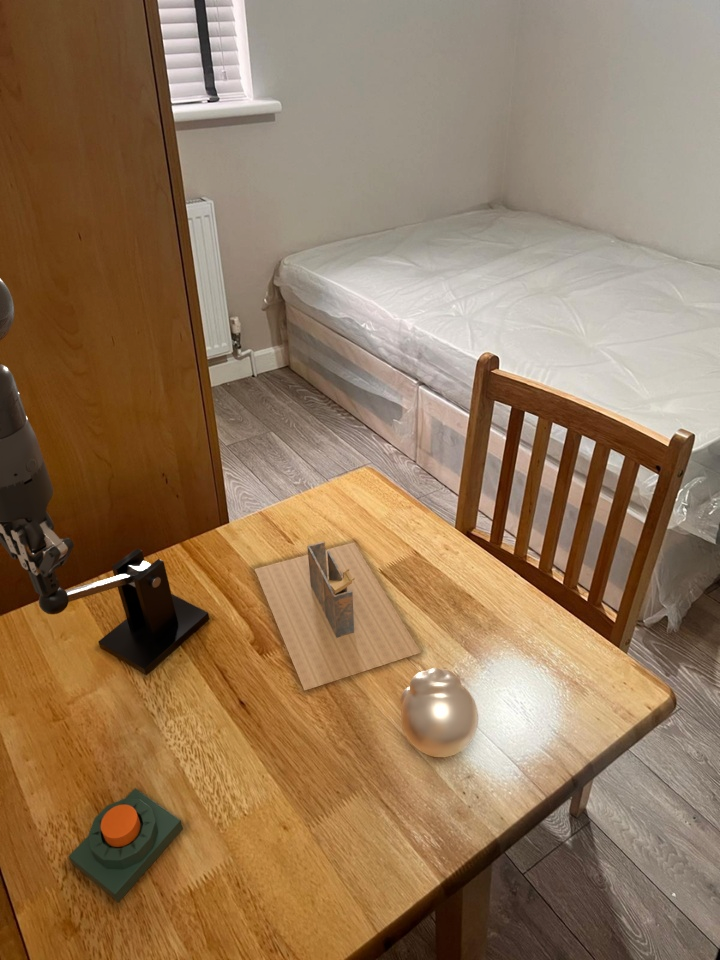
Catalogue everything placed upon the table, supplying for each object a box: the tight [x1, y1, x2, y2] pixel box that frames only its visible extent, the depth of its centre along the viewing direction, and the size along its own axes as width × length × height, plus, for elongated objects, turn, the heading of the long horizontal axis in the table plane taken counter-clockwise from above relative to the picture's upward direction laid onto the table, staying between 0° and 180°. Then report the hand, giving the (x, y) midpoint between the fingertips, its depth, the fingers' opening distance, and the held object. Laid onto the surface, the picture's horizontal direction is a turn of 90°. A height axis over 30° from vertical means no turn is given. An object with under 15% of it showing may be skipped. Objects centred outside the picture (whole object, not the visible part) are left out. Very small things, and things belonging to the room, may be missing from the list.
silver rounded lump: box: [399, 667, 479, 758], centre depth 84 cm, size 9×10×10 cm
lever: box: [38, 560, 152, 615], centre depth 90 cm, size 16×3×3 cm, turn 146°
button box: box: [68, 787, 184, 903], centre depth 76 cm, size 9×7×4 cm
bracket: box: [97, 547, 210, 677], centre depth 98 cm, size 12×9×13 cm
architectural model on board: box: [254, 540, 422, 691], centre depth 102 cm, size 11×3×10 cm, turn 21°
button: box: [101, 805, 140, 847], centre depth 74 cm, size 4×4×2 cm
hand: (48, 591), depth 83 cm, fingers closed
